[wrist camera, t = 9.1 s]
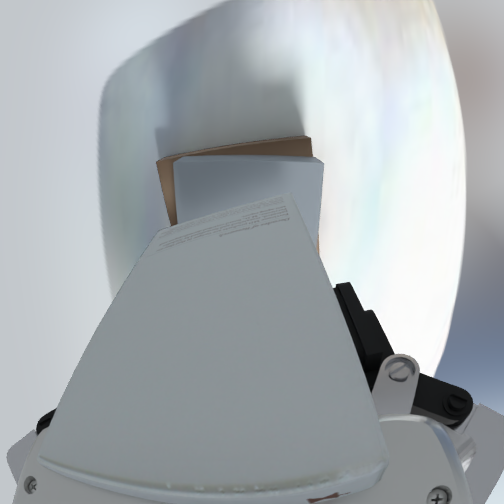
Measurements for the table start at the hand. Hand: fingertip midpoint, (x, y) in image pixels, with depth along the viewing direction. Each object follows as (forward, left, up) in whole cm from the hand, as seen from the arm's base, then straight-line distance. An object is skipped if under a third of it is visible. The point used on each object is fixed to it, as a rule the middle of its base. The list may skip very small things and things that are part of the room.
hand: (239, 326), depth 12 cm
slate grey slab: (0, 0, -13) cm, 13 cm away
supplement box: (0, 0, -5) cm, 5 cm away
